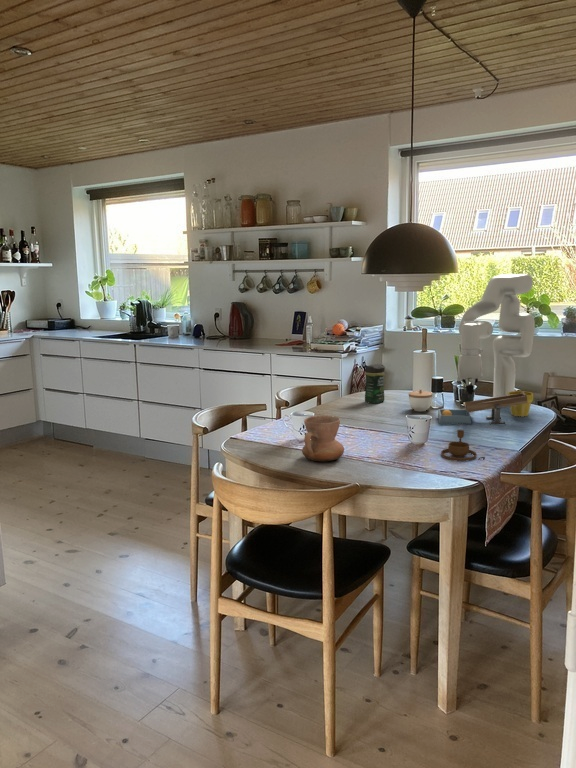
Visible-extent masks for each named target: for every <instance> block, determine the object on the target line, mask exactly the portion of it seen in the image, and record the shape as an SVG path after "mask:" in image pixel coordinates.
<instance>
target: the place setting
mask: <svg viewBox="0 0 576 768" xmlns="http://www.w3.org/2000/svg"><path fill="white" fill-rule="evenodd" d="M464 436H465V430H464V429H457V431H456V437H457V438H458V441H451V442H449V443H448V447H447V446H445V448H444V449H442V450H441V451H440V455H441V457H442V458H444V459H446V460H450V461H454V460H457V461H456V462H467V461H466V460H469V461H472V459H473V460H476V458H477V452H476V451H474V450H472V449H470V444H469V443H468V442H466V441H462V439H463V438H464ZM447 448H448V449H447ZM447 453H449V454H450V455H452V456H449V455H446V454H447ZM469 453H471V454H470V455H472V454H473V455H474V456H473V455H472V456H470V457H466V456H467V455H469ZM457 457H459V458H457ZM461 457H462V458H461ZM480 458H483V460H482V461H484V460H486V456H481V457H478V459H477V460H481V459H480Z"/></svg>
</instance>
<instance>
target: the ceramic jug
mask: <svg viewBox="0 0 576 768" xmlns="http://www.w3.org/2000/svg"><path fill="white" fill-rule="evenodd" d="M303 421H304V427H305V430H306V431H307V432H306V433H305V434H304V445H303V447H302V450H301V452H302V455H303V456H304V457H305V458H306V459H308V460H311V461H315V462H325V463H326V462H332V461H335V460H338V459H339V458H341V457H342V456H343V454H344V452H345V448H344V445H343V444H342V443H341V442H340V441H339V440H337V439H336V437H337V434H338V432H339V429H340V424H341V418H340V417H339V416H336V415H335V416H333V415H329V414H326V415H325V414H319V415H312V416H309V417H307V418H305V419H304V420H303Z"/></svg>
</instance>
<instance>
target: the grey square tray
mask: <svg viewBox="0 0 576 768" xmlns="http://www.w3.org/2000/svg"><path fill="white" fill-rule="evenodd" d="M444 410H449V411H450V412H451V413H452V416H444V415H442V413H443V411H444ZM437 418H438V422H439V425H471V421H472V420H471V414H470V412H469V413H468V412H467V410H466V409H455V408H454V409H450V408H449V409H447V408H446V409H445V408H444V409H443V408H442V409H437Z"/></svg>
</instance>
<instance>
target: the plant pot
mask: <svg viewBox="0 0 576 768" xmlns="http://www.w3.org/2000/svg"><path fill="white" fill-rule="evenodd" d="M522 392H524V393H525V394H526V396H527V401H528V403H525V404H519V405H513V406H509V408H510V413H511V415H512V416H513V415H514V417H518V416H519V417H520V416H521V417H523V418H524V416H525V417H528V416H529V413H530V408H531V406H532V405H531V404H532V402H533V401H534V393H533V392H530V391H523V390H514V391H512V392H509V393H508V395H513V394H519V393H522Z"/></svg>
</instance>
